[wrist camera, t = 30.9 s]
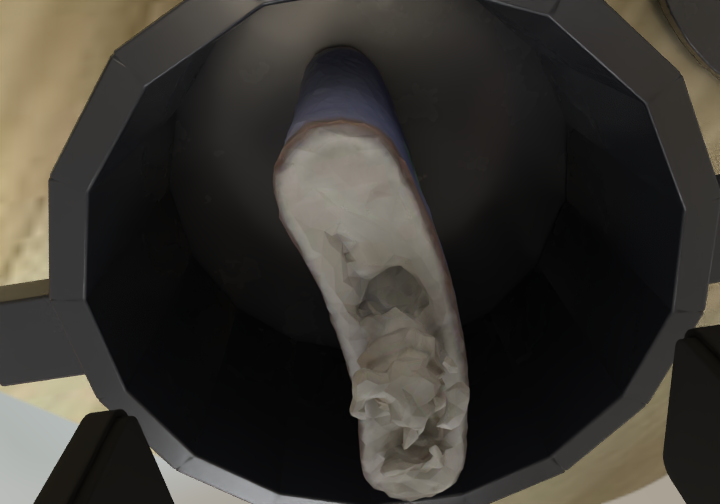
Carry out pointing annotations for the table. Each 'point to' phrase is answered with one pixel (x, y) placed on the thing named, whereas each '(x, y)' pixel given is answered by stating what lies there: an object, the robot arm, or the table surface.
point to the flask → (377, 274)
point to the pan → (450, 217)
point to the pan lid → (697, 28)
